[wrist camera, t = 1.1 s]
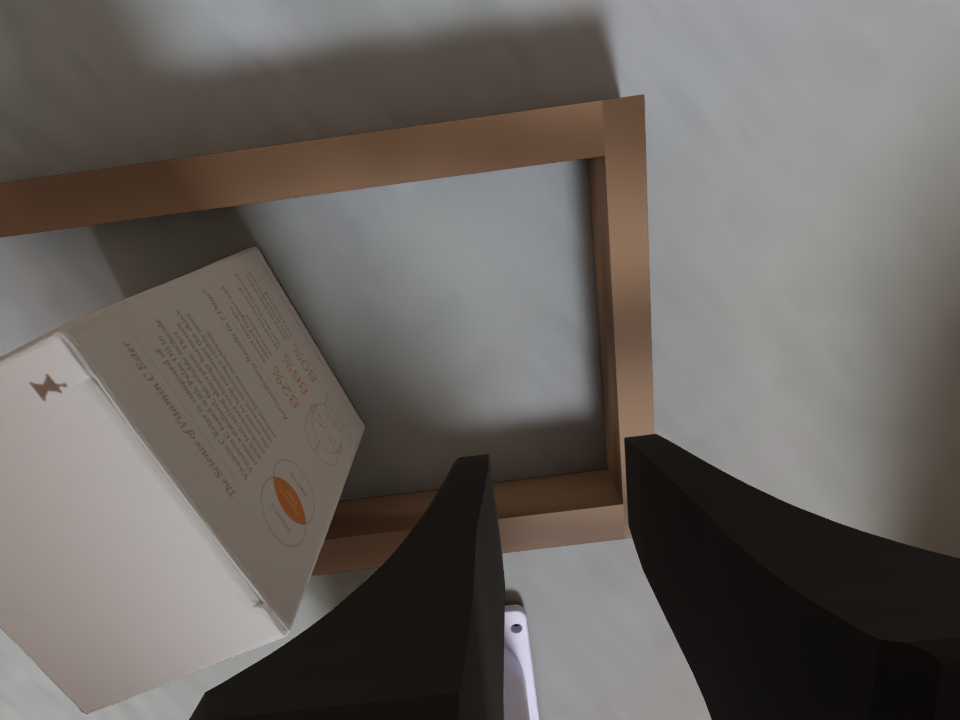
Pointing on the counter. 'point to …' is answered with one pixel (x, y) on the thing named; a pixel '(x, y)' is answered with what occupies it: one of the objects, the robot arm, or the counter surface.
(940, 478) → the counter surface
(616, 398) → the open wooden frame
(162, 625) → the small box
